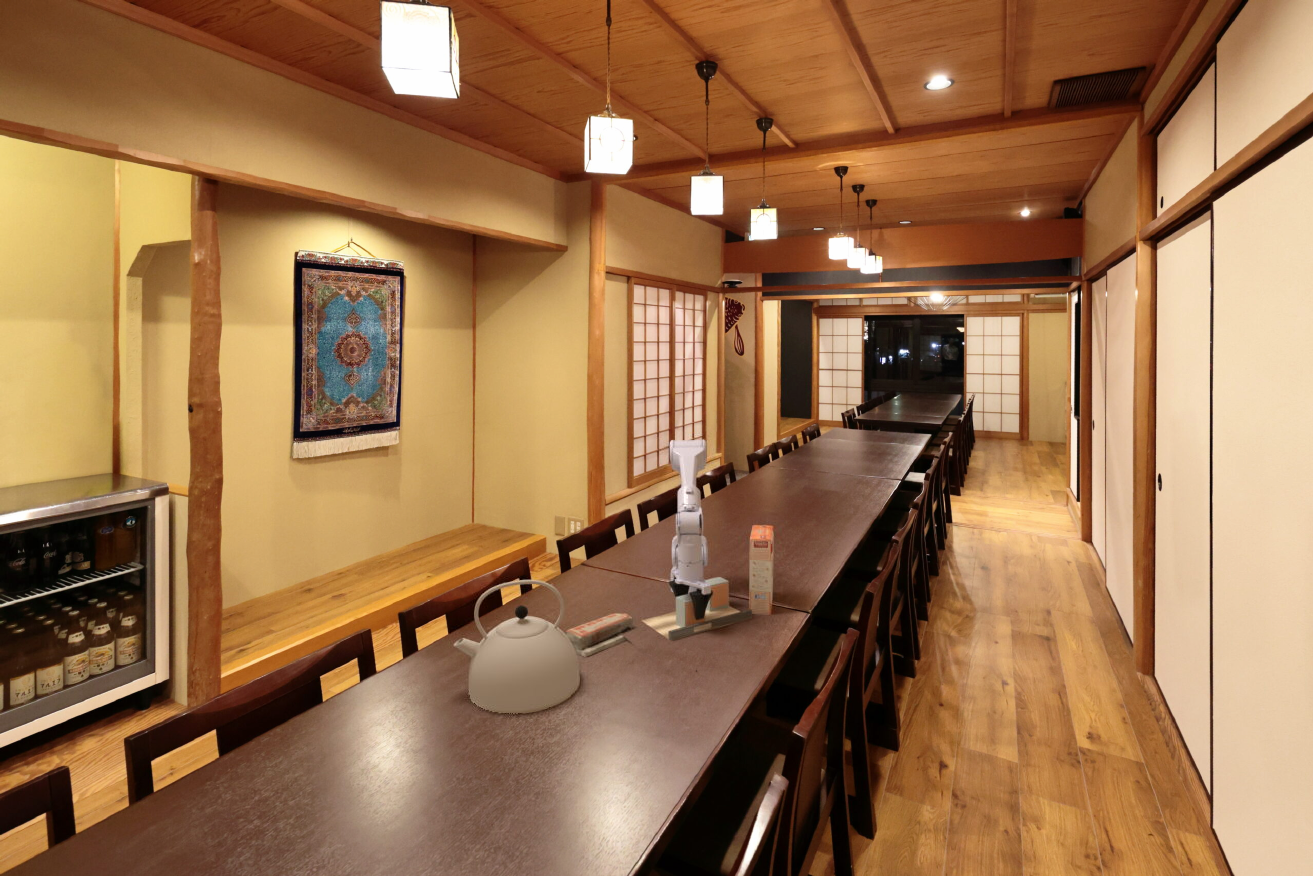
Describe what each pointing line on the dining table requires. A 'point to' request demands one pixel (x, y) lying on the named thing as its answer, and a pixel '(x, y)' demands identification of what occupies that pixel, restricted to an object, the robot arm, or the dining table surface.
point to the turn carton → (685, 611)
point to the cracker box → (761, 569)
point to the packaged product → (599, 633)
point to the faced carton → (718, 594)
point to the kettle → (521, 661)
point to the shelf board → (712, 620)
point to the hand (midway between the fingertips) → (690, 613)
